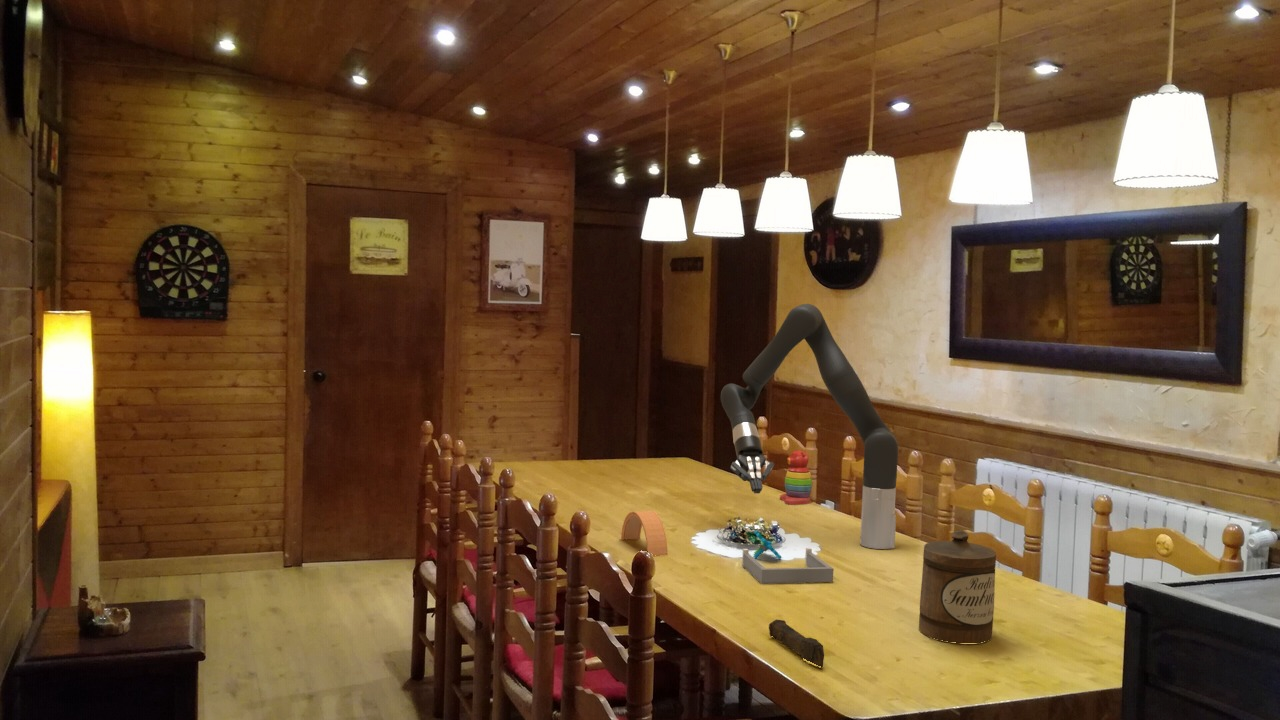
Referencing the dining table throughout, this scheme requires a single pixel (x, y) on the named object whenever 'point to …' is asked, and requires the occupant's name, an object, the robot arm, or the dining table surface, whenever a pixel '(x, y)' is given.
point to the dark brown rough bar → (798, 642)
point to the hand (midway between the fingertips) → (757, 491)
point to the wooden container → (957, 590)
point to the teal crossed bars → (764, 547)
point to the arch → (646, 530)
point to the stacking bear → (797, 480)
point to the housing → (789, 570)
